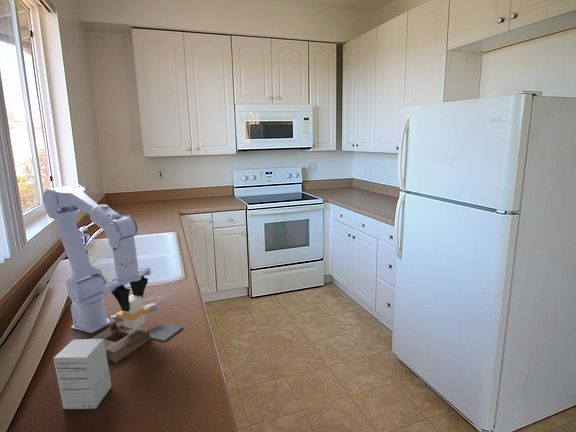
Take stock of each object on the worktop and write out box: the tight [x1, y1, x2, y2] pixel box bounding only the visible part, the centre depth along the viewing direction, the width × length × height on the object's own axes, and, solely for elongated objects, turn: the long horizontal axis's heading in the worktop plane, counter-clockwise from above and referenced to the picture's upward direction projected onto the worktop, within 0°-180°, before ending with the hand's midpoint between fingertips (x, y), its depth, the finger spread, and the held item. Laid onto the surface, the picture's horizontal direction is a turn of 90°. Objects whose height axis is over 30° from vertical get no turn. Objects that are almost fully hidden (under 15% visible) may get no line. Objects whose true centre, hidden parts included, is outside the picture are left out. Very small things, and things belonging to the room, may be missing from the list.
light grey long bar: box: [108, 302, 158, 328], centre depth 110 cm, size 13×2×3 cm, turn 127°
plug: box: [114, 293, 150, 329], centre depth 103 cm, size 6×6×8 cm
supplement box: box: [53, 338, 112, 410], centre depth 81 cm, size 7×7×13 cm
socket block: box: [90, 322, 151, 363], centre depth 102 cm, size 12×12×3 cm
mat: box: [149, 322, 184, 343], centre depth 109 cm, size 8×8×1 cm
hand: (132, 307), depth 103 cm, fingers closed on plug, 4 cm apart
